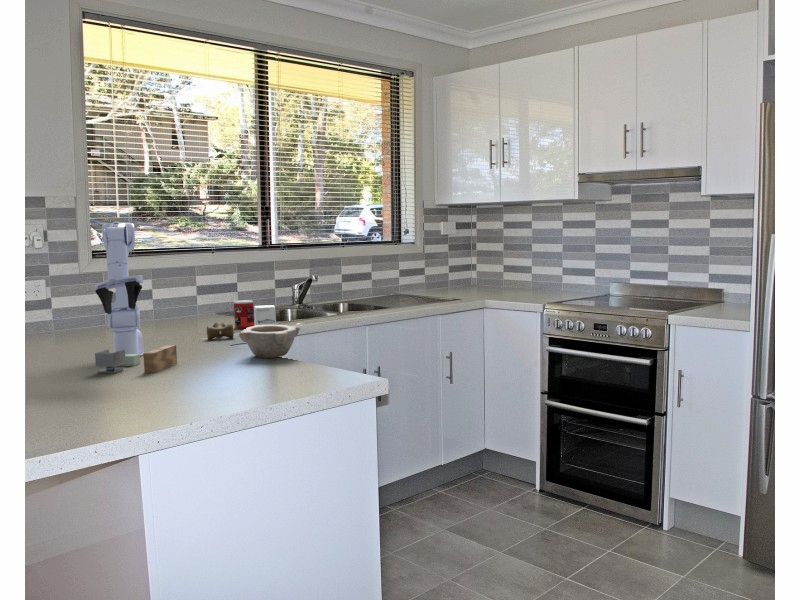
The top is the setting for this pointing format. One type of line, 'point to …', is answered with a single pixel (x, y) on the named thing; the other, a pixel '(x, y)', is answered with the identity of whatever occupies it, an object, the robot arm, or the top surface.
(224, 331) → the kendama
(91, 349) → the top surface
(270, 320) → the supplement box
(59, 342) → the top surface
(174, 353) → the walnut rail
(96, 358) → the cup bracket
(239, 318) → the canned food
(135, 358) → the block
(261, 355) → the mortar
